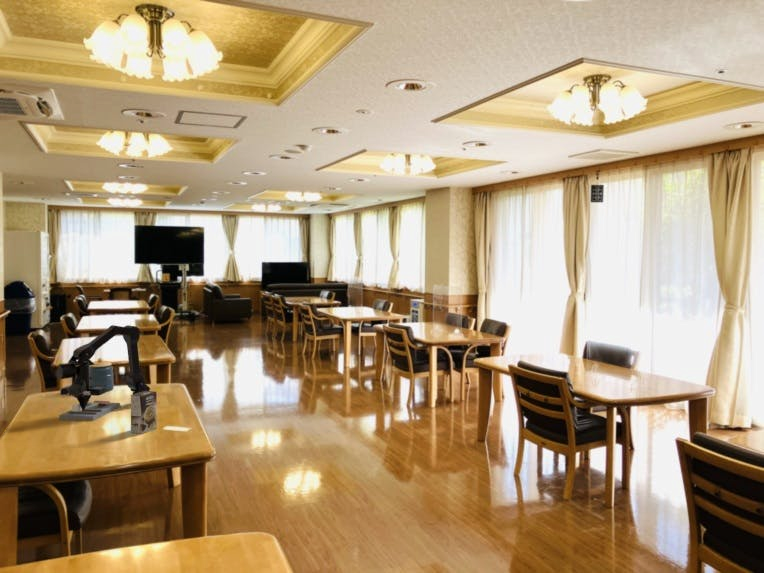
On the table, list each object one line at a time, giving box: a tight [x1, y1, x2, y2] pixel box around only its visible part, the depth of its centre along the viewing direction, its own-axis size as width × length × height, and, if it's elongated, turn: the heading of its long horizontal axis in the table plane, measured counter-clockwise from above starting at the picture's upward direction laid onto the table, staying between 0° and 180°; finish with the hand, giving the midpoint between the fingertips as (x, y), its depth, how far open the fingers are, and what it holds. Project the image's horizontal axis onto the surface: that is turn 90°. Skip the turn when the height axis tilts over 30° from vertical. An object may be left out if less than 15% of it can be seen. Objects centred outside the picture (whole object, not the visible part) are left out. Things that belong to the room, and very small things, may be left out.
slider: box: [71, 403, 82, 412], centre depth 271 cm, size 3×3×3 cm
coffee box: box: [130, 390, 158, 435], centre depth 251 cm, size 9×6×16 cm
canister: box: [89, 357, 115, 393], centre depth 320 cm, size 13×13×18 cm
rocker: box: [93, 400, 111, 403], centre depth 282 cm, size 4×7×1 cm, turn 175°
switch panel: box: [58, 401, 121, 422], centre depth 277 cm, size 16×23×3 cm
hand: (83, 409), depth 271 cm, fingers closed
